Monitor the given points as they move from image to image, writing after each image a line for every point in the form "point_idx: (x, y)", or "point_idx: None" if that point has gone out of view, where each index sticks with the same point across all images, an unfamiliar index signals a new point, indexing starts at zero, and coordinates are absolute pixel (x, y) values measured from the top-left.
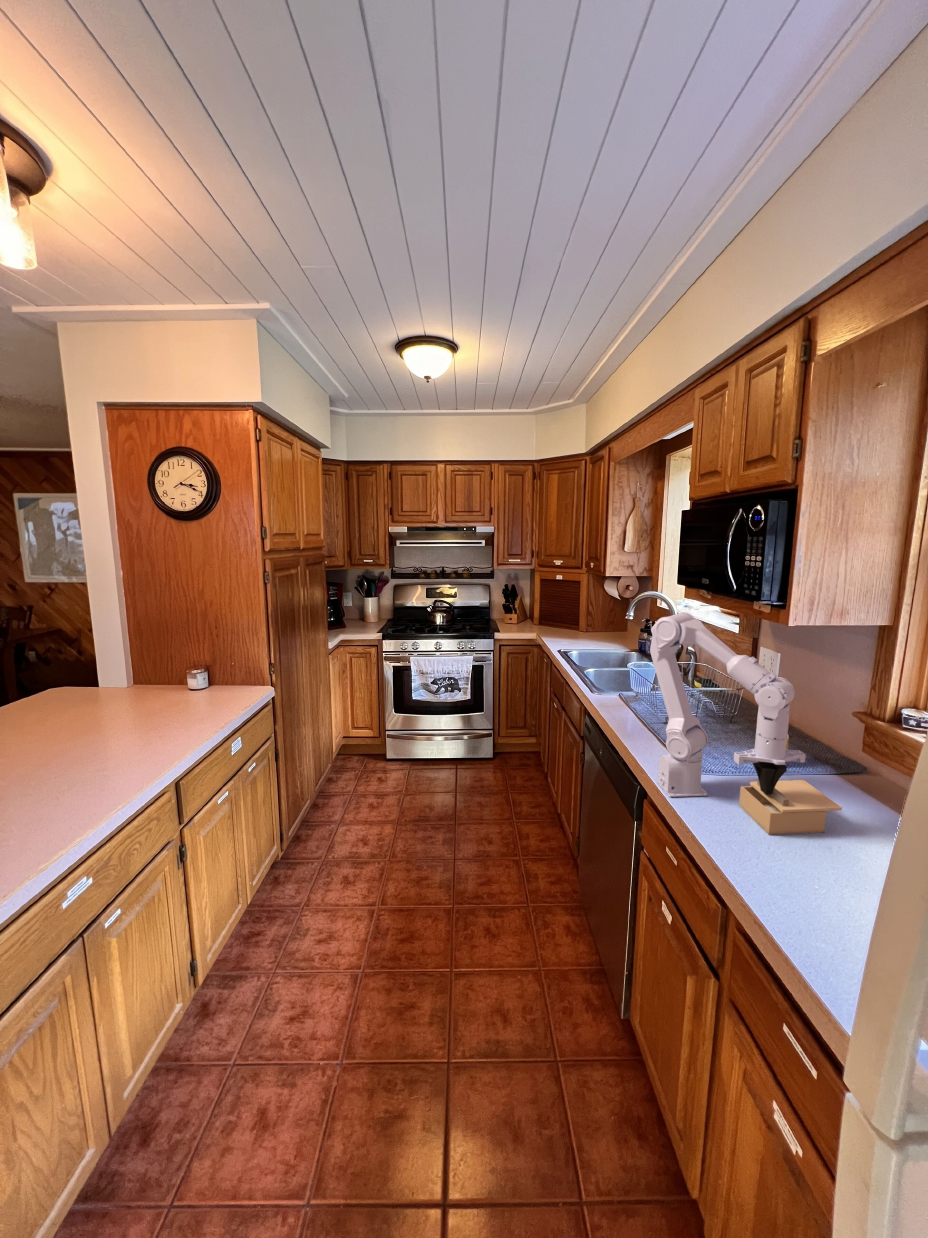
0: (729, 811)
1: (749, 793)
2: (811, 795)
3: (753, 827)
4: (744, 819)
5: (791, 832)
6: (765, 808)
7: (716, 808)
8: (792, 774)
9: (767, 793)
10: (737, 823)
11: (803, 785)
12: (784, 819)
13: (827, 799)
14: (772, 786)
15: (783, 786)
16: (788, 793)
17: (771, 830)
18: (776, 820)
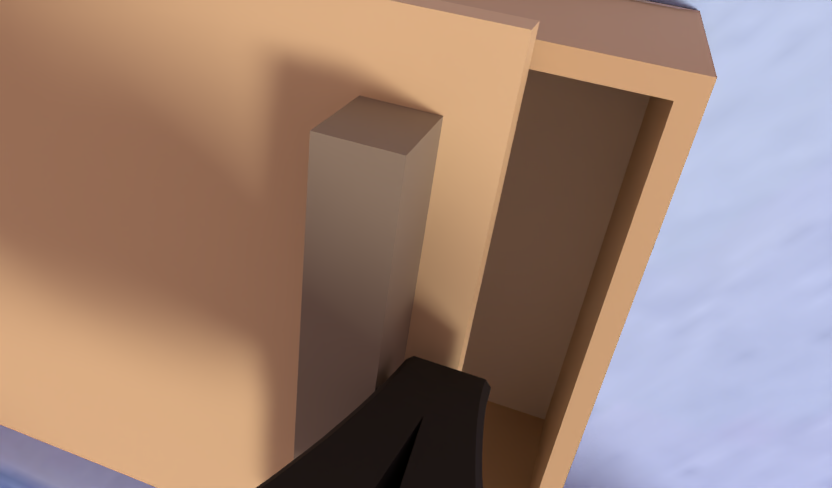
0: (707, 410)
1: (551, 485)
2: None
3: (726, 166)
4: (687, 287)
5: None
6: (660, 207)
7: (780, 478)
8: (5, 475)
9: (470, 387)
10: (823, 266)
11: None
12: (500, 10)
13: None
14: (380, 446)
15: (146, 409)
16: (172, 309)
17: (669, 15)
18: (611, 31)
